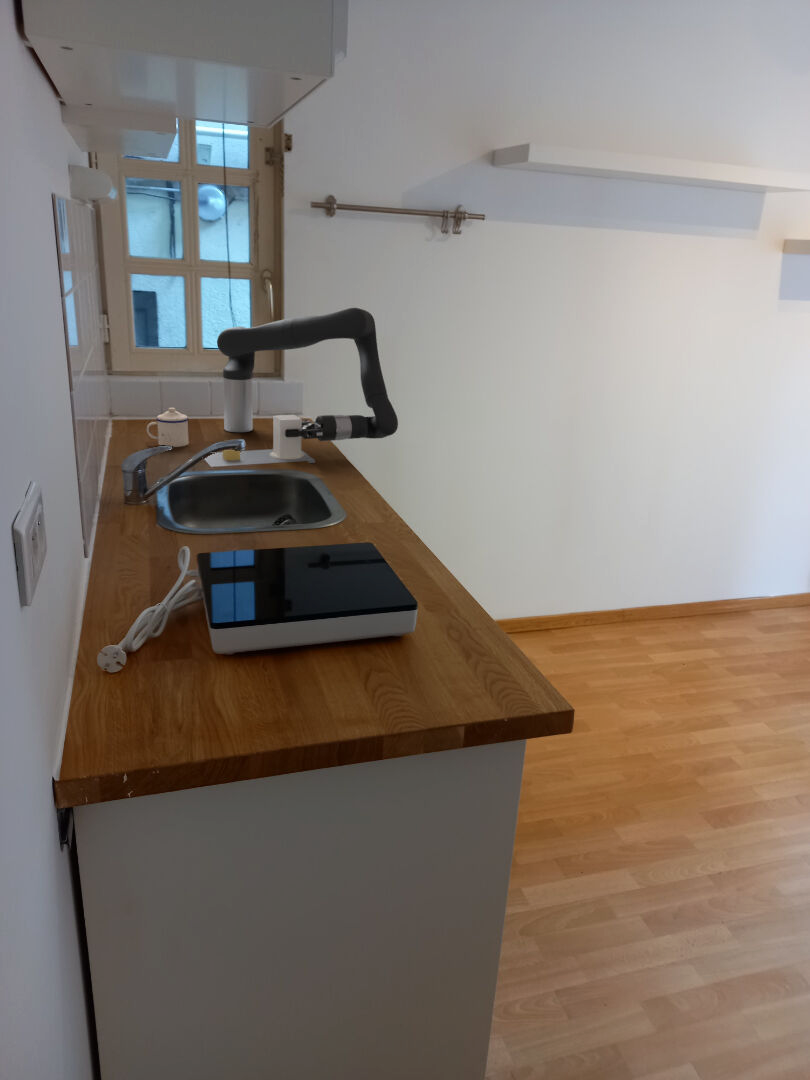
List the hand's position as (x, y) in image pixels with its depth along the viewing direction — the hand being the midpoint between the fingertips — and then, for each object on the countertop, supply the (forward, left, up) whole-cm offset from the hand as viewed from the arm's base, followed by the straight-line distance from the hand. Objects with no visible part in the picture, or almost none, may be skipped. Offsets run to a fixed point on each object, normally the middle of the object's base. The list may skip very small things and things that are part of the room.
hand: (281, 430), depth 225 cm
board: (0, -7, -8) cm, 11 cm away
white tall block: (0, +2, -7) cm, 8 cm away
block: (0, -15, -7) cm, 17 cm away
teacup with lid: (-21, -28, -9) cm, 37 cm away
